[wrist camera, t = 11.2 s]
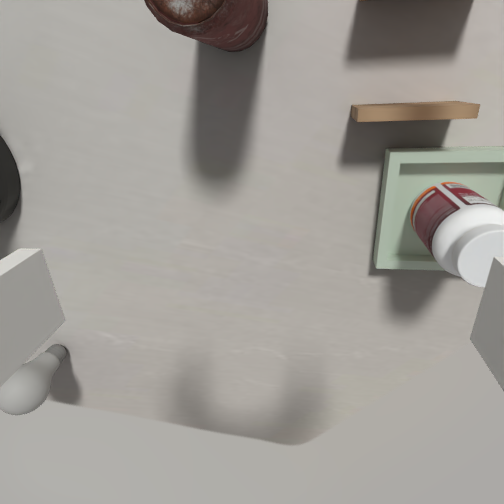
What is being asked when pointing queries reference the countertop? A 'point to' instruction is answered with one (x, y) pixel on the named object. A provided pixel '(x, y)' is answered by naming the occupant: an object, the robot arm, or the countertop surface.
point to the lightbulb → (31, 382)
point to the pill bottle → (459, 229)
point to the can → (214, 20)
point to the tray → (414, 182)
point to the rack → (414, 111)
